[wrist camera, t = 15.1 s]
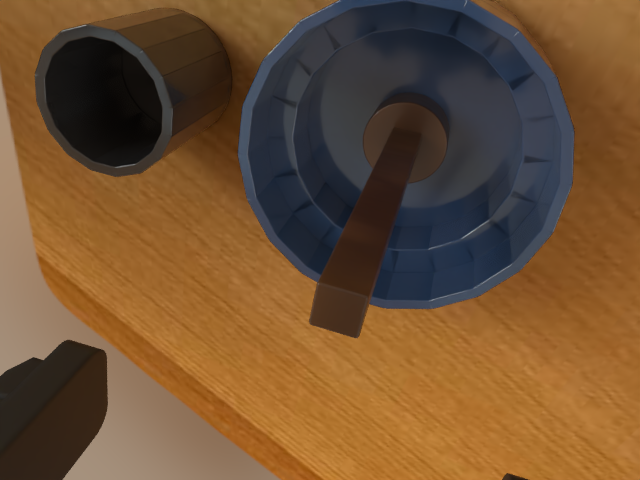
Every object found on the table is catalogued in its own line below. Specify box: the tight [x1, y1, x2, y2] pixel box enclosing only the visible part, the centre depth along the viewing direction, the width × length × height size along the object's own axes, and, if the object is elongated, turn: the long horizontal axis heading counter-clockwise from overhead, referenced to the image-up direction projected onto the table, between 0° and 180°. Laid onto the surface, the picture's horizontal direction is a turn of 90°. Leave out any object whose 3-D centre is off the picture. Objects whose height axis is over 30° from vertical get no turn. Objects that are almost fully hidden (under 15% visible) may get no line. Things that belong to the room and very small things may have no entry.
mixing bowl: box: [238, 0, 575, 309], centre depth 28 cm, size 14×14×6 cm
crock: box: [35, 8, 232, 177], centre depth 29 cm, size 7×7×7 cm
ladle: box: [309, 92, 450, 338], centre depth 23 cm, size 4×4×16 cm
